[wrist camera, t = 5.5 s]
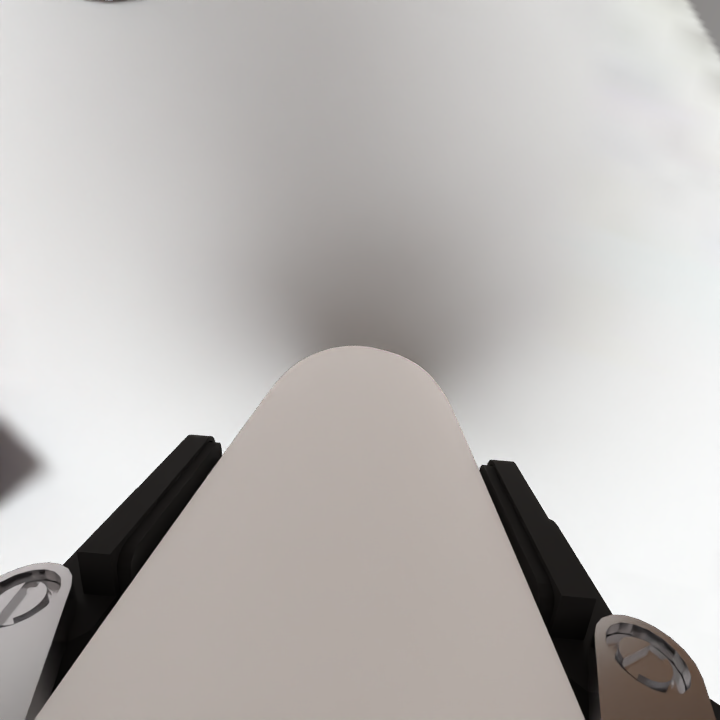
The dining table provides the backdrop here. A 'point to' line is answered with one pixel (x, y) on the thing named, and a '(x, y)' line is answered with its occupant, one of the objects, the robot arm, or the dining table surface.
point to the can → (330, 574)
